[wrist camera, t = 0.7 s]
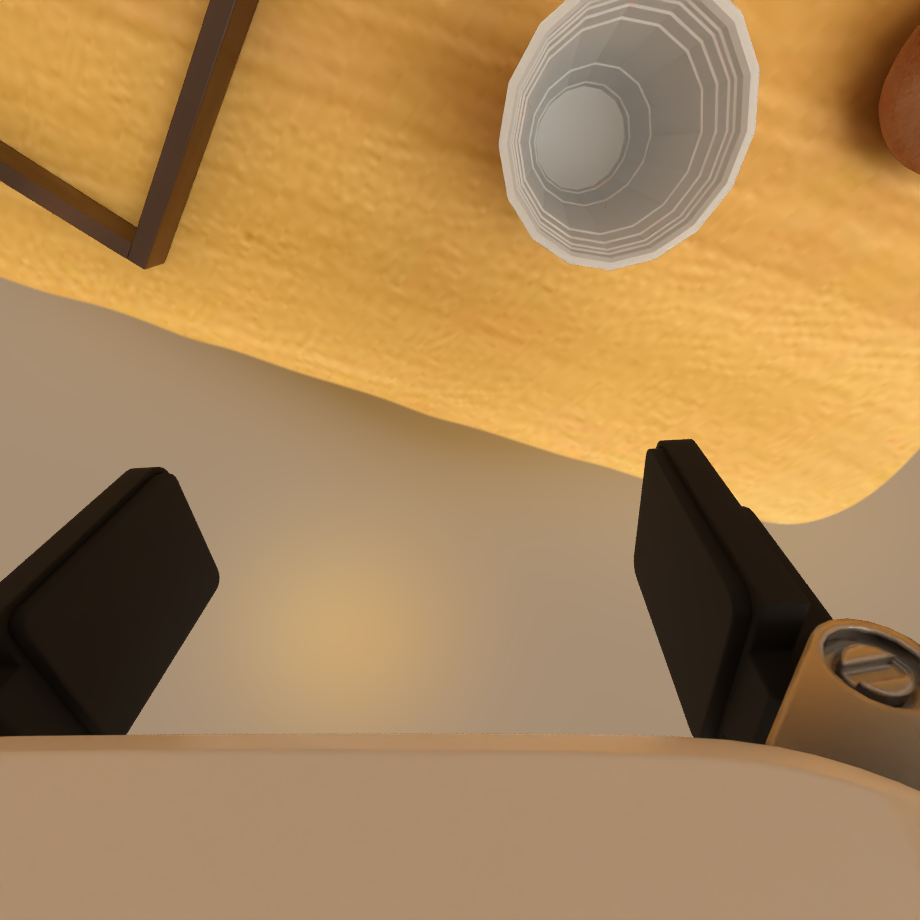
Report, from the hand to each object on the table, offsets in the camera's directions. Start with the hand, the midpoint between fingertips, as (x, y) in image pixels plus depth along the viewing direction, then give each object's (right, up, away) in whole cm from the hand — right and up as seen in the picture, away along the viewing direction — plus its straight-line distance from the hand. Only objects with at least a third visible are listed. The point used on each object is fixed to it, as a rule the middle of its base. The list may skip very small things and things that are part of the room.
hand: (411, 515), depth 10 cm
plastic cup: (+9, +21, +21) cm, 31 cm away
